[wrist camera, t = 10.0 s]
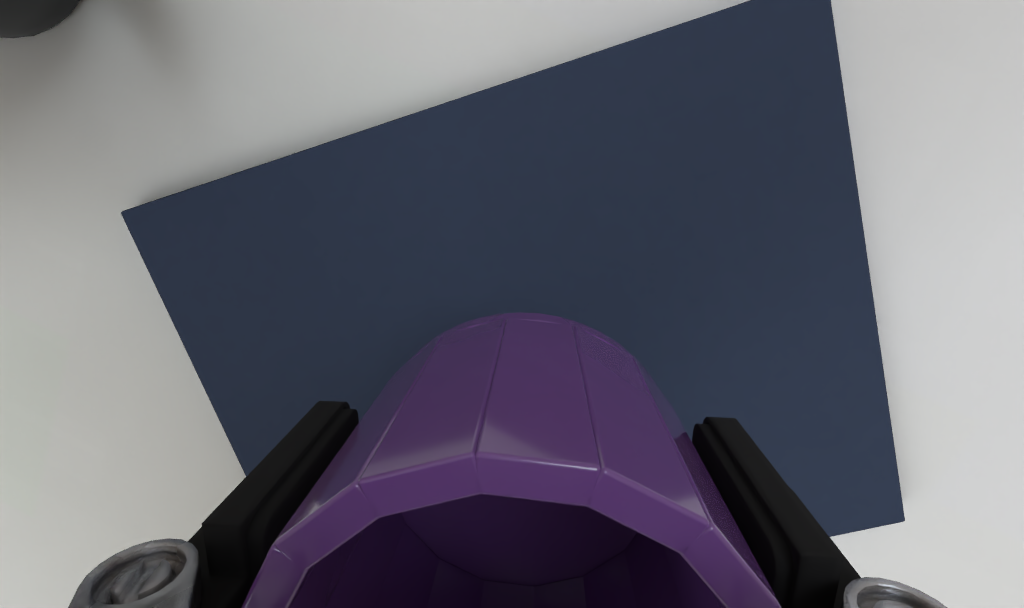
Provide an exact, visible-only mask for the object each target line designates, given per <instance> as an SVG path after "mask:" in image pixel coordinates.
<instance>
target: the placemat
mask: <svg viewBox="0 0 1024 608" xmlns="http://www.w3.org/2000/svg"><path fill="white" fill-rule="evenodd" d="M121 214H122V216H123V218H124V221H125V223H126V225H127V227H128V229H129V231H130V233H131V235H132V237H133V239H134V242H135V244H136V246H137V248H138V250H139V252H140V254H141V256H142V258H143V260H144V263H145V265H146V267H147V269H148V271H149V273H150V275H151V277H152V279H153V282H154V284H155V286H156V288H157V290H158V292H159V294H160V296H161V298H162V300H163V303H164V305H165V307H166V309H167V311H168V313H169V315H170V317H171V319H172V321H173V324H174V326H175V328H176V330H177V332H178V334H179V336H180V338H181V340H182V342H183V345H184V347H185V349H186V351H187V353H188V355H189V357H190V359H191V361H192V364H193V366H194V368H195V370H196V372H197V374H198V376H199V378H200V380H201V382H202V385H203V387H204V389H205V391H206V393H207V395H208V397H209V399H210V401H211V403H212V406H213V408H214V410H215V412H216V414H217V416H218V418H219V420H220V422H221V424H222V427H223V429H224V431H225V433H226V435H227V437H228V439H229V441H230V443H231V445H232V448H233V450H234V452H235V454H236V456H237V458H238V460H239V462H240V464H241V467H242V469H243V471H244V473H245V475H246V477H247V476H248V475H249V473H250V472H251V471H252V470H253V469H254V468H255V467H256V466H257V465H258V464H259V463H260V462H261V461H262V460H263V459H264V458H265V457H266V456H267V455H268V454H269V452H270V451H271V450H272V449H273V448H274V447H275V446H276V445H277V444H278V443H279V442H280V441H281V440H282V439H283V438H284V437H285V436H286V435H287V434H288V433H289V431H290V430H291V429H292V428H293V427H294V426H295V425H296V424H297V423H298V422H299V421H300V420H301V419H302V418H303V417H304V416H305V415H306V414H307V413H308V412H309V410H310V409H311V408H312V407H313V406H314V405H315V404H316V403H317V402H319V401H341V402H348V404H349V406H350V409H356V410H357V412H358V417H359V422H360V420H361V419H362V418H363V416H364V415H365V413H366V412H367V411H368V409H369V408H370V406H371V405H372V404H373V402H374V401H375V399H376V398H377V397H378V395H379V394H380V392H381V391H382V390H383V388H384V387H385V385H386V384H387V383H388V381H389V380H390V378H391V377H392V376H393V375H394V374H395V372H397V371H398V370H399V369H400V368H402V367H403V365H404V364H405V363H406V362H407V361H408V359H409V358H410V357H411V356H413V355H414V354H415V353H416V352H417V351H418V350H419V349H420V348H421V347H422V346H423V345H425V344H426V343H428V342H429V341H431V340H432V339H434V338H435V337H437V336H438V335H439V334H441V333H443V332H445V331H447V330H449V329H451V328H453V327H455V326H457V325H460V324H463V323H465V322H468V321H471V320H474V319H477V318H481V317H486V316H491V315H496V314H505V313H517V312H521V313H541V314H546V315H552V316H558V317H562V318H566V319H569V320H572V321H575V322H579V323H582V324H584V325H586V326H588V327H591V328H593V329H595V330H597V331H599V332H601V333H603V334H604V335H606V336H608V337H609V338H611V339H612V340H614V341H616V342H617V343H619V344H620V345H621V346H622V347H624V348H625V349H626V350H627V351H628V352H630V353H631V354H632V355H633V356H634V357H635V358H636V359H637V360H638V361H639V362H640V363H641V364H642V365H643V366H644V368H645V369H646V370H647V371H648V372H649V374H650V375H651V377H652V378H653V379H654V381H655V382H656V384H657V385H658V387H659V389H660V390H661V392H662V393H663V395H664V396H665V397H666V398H667V400H668V401H669V402H670V403H671V405H672V407H673V409H674V410H675V412H676V414H677V416H678V418H679V420H680V421H681V423H682V425H683V427H684V429H685V431H686V432H687V434H688V436H689V438H690V440H691V442H692V436H693V429H694V426H695V424H702V423H703V421H704V419H705V417H723V418H736V419H737V420H738V422H739V423H740V424H741V425H742V427H743V428H744V429H745V431H746V432H747V433H748V434H749V436H750V437H751V438H752V440H753V441H754V442H755V444H756V445H757V446H758V447H759V449H760V450H761V451H762V453H763V454H764V455H765V456H766V458H767V459H768V460H769V462H770V463H771V464H772V466H773V467H774V468H775V469H776V471H777V472H778V473H779V475H780V476H781V477H782V478H783V480H784V481H785V482H786V484H787V485H788V486H789V487H790V488H791V489H792V490H793V491H794V492H795V493H796V495H797V496H798V497H799V499H800V500H801V501H802V502H803V504H804V505H805V506H806V508H807V509H808V510H809V511H810V513H811V514H812V515H813V517H814V518H815V519H816V520H817V522H818V523H819V524H820V526H821V527H822V528H823V530H824V531H825V532H826V533H827V535H828V536H829V537H831V536H836V535H841V534H845V533H850V532H855V531H860V530H865V529H870V528H874V527H879V526H884V525H889V524H894V523H899V522H903V521H905V518H904V511H903V504H902V497H901V490H900V483H899V476H898V469H897V462H896V455H895V448H894V441H893V434H892V427H891V420H890V413H889V406H888V399H887V392H886V385H885V378H884V371H883V364H882V357H881V350H880V343H879V336H878V329H877V322H876V315H875V308H874V301H873V294H872V287H871V280H870V273H869V266H868V259H867V252H866V245H865V238H864V231H863V224H862V217H861V210H860V203H859V196H858V189H857V182H856V175H855V168H854V161H853V154H852V147H851V140H850V133H849V126H848V119H847V112H846V105H845V98H844V91H843V84H842V77H841V70H840V63H839V56H838V49H837V42H836V35H835V28H834V21H833V14H832V7H831V0H750V1H747V2H744V3H741V4H738V5H735V6H732V7H730V8H727V9H724V10H721V11H718V12H715V13H712V14H709V15H706V16H703V17H700V18H697V19H694V20H691V21H688V22H685V23H682V24H679V25H676V26H673V27H670V28H667V29H664V30H661V31H658V32H655V33H652V34H649V35H646V36H643V37H640V38H637V39H634V40H631V41H628V42H625V43H622V44H619V45H616V46H613V47H610V48H607V49H604V50H601V51H598V52H595V53H592V54H589V55H586V56H583V57H581V58H578V59H575V60H572V61H569V62H566V63H563V64H560V65H557V66H554V67H551V68H548V69H545V70H542V71H539V72H536V73H533V74H530V75H527V76H524V77H521V78H518V79H515V80H512V81H509V82H506V83H503V84H500V85H497V86H494V87H491V88H488V89H485V90H482V91H479V92H476V93H473V94H470V95H467V96H464V97H461V98H458V99H455V100H452V101H449V102H446V103H443V104H440V105H437V106H435V107H432V108H429V109H426V110H423V111H420V112H417V113H414V114H411V115H408V116H405V117H402V118H399V119H396V120H393V121H390V122H387V123H384V124H381V125H378V126H375V127H372V128H369V129H366V130H363V131H360V132H357V133H354V134H351V135H348V136H345V137H342V138H339V139H336V140H333V141H330V142H327V143H324V144H321V145H318V146H315V147H312V148H309V149H306V150H303V151H300V152H297V153H294V154H291V155H289V156H286V157H283V158H280V159H277V160H274V161H271V162H268V163H265V164H262V165H259V166H256V167H253V168H250V169H247V170H244V171H241V172H238V173H235V174H232V175H229V176H226V177H223V178H220V179H217V180H214V181H211V182H208V183H205V184H202V185H199V186H196V187H193V188H190V189H187V190H184V191H181V192H178V193H175V194H172V195H169V196H166V197H163V198H160V199H157V200H154V201H151V202H148V203H145V204H142V205H140V206H137V207H134V208H131V209H128V210H125V211H122V212H121Z"/></svg>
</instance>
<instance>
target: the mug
mask: <svg viewBox="0 0 1024 608" xmlns="http://www.w3.org/2000/svg"><path fill="white" fill-rule="evenodd" d="M79 1H80V0H0V38H18V37H26V36H34V35H36V34H39V33H41V32H43V31H46V30H48V29H51V28H53V27H54V26H56V25H57V24H59V23H60V22H61V21H62V20H63V19H65V18H66V17H67V16H68V15H69V14H70V13H71V12H72V11H73V9H74V8H75V6H76V5H77V4H78V2H79Z"/></svg>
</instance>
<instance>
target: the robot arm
mask: <svg viewBox="0 0 1024 608" xmlns="http://www.w3.org/2000/svg"><path fill="white" fill-rule="evenodd" d="M358 423H359V417H358V412H357V410H356V409H350V406H349V404H348V402H341V401H319V402H317V403H316V404H315V405H314V406H313V407H312V408H311V409H310V410H309V412H308V413H307V414H306V415H305V416H304V417H303V418H302V419H301V420H300V421H299V422H298V423H297V424H296V425H295V426H294V427H293V428H292V429H291V430H290V431H289V433H288V434H287V435H286V436H285V437H284V438H283V439H282V440H281V441H280V442H279V443H278V444H277V445H276V446H275V447H274V448H273V449H272V450H271V451H270V452H269V454H268V455H267V456H266V457H265V458H264V459H263V460H262V461H261V462H260V463H259V464H258V465H257V466H256V467H255V468H254V469H253V470H252V471H251V472H250V473H249V475H248V476H247V477H246V478H245V479H244V480H243V481H242V482H241V483H240V484H239V485H238V486H237V487H236V488H235V489H234V490H233V491H232V492H231V493H230V494H229V496H228V497H227V498H226V499H225V500H224V501H223V502H222V503H221V504H220V505H219V506H218V507H217V508H216V509H215V510H214V511H213V512H212V513H211V514H210V515H209V517H208V518H207V519H206V520H205V521H204V522H203V523H202V527H201V528H200V529H199V530H198V531H197V532H196V534H195V535H194V536H193V537H192V538H191V539H190V540H189V541H188V542H187V541H184V540H182V539H161V540H153V541H149V542H145V543H142V544H139V545H135V546H132V547H130V548H128V549H126V550H123V551H121V552H119V553H117V554H115V555H113V556H112V557H110V558H108V559H107V560H105V561H104V562H102V563H100V564H99V565H98V566H97V567H96V568H94V569H93V570H92V571H91V572H90V573H89V574H88V575H87V576H86V577H85V578H84V580H83V581H82V583H81V584H80V585H79V587H78V589H77V591H76V593H75V595H74V597H73V599H72V601H71V603H70V605H69V607H68V608H241V606H242V604H243V602H244V600H245V598H246V596H247V594H248V592H249V590H250V588H251V586H252V584H253V582H254V580H255V577H256V575H257V573H258V571H259V569H260V567H261V565H262V563H263V561H264V559H265V557H266V555H267V553H268V551H269V549H270V547H271V545H272V544H273V542H274V541H275V540H276V538H277V537H278V535H279V534H280V532H281V531H282V530H283V528H284V527H285V525H286V524H287V523H288V521H289V520H290V518H291V517H292V516H293V514H294V513H295V511H296V510H297V509H298V507H299V506H300V504H301V503H302V502H303V500H304V499H305V497H306V496H307V495H308V493H309V492H310V490H311V489H312V488H313V486H314V485H315V483H316V482H317V481H318V479H319V478H320V476H321V475H322V474H323V472H324V471H325V469H326V468H327V467H328V465H329V464H330V462H331V461H332V460H333V458H334V457H335V455H336V454H337V453H338V451H339V450H340V448H341V447H342V446H343V444H344V443H345V441H346V440H347V439H348V437H349V436H350V434H351V433H352V432H353V430H354V429H355V427H356V426H357V425H358ZM692 443H693V445H694V447H695V449H696V451H697V453H698V454H699V456H700V458H701V460H702V462H703V464H704V465H705V467H706V469H707V471H708V473H709V475H710V476H711V478H712V480H713V482H714V484H715V486H716V487H717V489H718V491H719V493H720V495H721V497H722V498H723V500H724V502H725V504H726V506H727V508H728V509H729V511H730V513H731V515H732V517H733V519H734V520H735V522H736V524H737V526H738V528H739V530H740V531H741V533H742V535H743V537H744V539H745V541H746V542H747V544H748V546H749V548H750V550H751V552H752V553H753V555H754V557H755V559H756V561H757V563H758V565H759V566H760V568H761V570H762V572H763V574H764V576H765V577H766V579H767V581H768V583H769V585H770V587H771V588H772V590H773V592H774V594H775V596H776V598H777V599H778V601H779V603H780V605H781V607H782V608H947V607H946V606H944V605H943V604H942V603H940V602H939V601H938V600H936V599H934V598H932V597H930V596H929V595H927V594H925V593H923V592H921V591H920V590H917V589H915V588H912V587H910V586H907V585H905V584H902V583H900V582H896V581H892V580H887V579H883V578H870V577H864V578H861V577H860V576H859V575H858V573H857V572H856V571H855V569H854V568H853V567H852V566H851V564H850V563H849V562H848V560H847V559H846V558H845V557H844V555H843V554H842V553H841V551H840V550H839V549H838V548H837V546H836V545H835V544H834V542H833V541H832V540H831V539H830V537H829V536H828V535H827V533H826V532H825V531H824V530H823V528H822V527H821V526H820V524H819V523H818V522H817V520H816V519H815V518H814V517H813V515H812V514H811V513H810V511H809V510H808V509H807V508H806V506H805V505H804V504H803V502H802V501H801V500H800V499H799V497H798V496H797V495H796V493H795V492H794V491H793V490H792V489H791V488H790V487H789V486H788V485H787V484H786V482H785V481H784V480H783V478H782V477H781V476H780V475H779V473H778V472H777V471H776V469H775V468H774V467H773V466H772V464H771V463H770V462H769V460H768V459H767V458H766V456H765V455H764V454H763V453H762V451H761V450H760V449H759V447H758V446H757V445H756V444H755V442H754V441H753V440H752V438H751V437H750V436H749V434H748V433H747V432H746V431H745V429H744V428H743V427H742V425H741V424H740V423H739V422H738V420H737V419H736V418H723V417H705V419H704V421H703V423H702V424H695V426H694V429H693V436H692Z"/></svg>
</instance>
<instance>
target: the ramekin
mask: <svg viewBox="0 0 1024 608" xmlns="http://www.w3.org/2000/svg"><path fill="white" fill-rule="evenodd" d="M241 608H782V607H781V605H780V603H779V601H778V599H777V598H776V596H775V594H774V592H773V590H772V588H771V587H770V585H769V583H768V581H767V579H766V577H765V576H764V574H763V572H762V570H761V568H760V566H759V565H758V563H757V561H756V559H755V557H754V555H753V553H752V552H751V550H750V548H749V546H748V544H747V542H746V541H745V539H744V537H743V535H742V533H741V531H740V530H739V528H738V526H737V524H736V522H735V520H734V519H733V517H732V515H731V513H730V511H729V509H728V508H727V506H726V504H725V502H724V500H723V498H722V497H721V495H720V493H719V491H718V489H717V487H716V486H715V484H714V482H713V480H712V478H711V476H710V475H709V473H708V471H707V469H706V467H705V465H704V464H703V462H702V460H701V458H700V456H699V454H698V453H697V451H696V449H695V447H694V445H693V443H692V442H691V440H690V438H689V436H688V434H687V432H686V431H685V429H684V427H683V425H682V423H681V421H680V420H679V418H678V416H677V414H676V412H675V410H674V409H673V407H672V405H671V403H670V402H669V401H668V400H667V398H666V397H665V396H664V395H663V393H662V392H661V390H660V389H659V387H658V385H657V384H656V382H655V381H654V379H653V378H652V377H651V375H650V374H649V372H648V371H647V370H646V369H645V368H644V366H643V365H642V364H641V363H640V362H639V361H638V360H637V359H636V358H635V357H634V356H633V355H632V354H631V353H630V352H628V351H627V350H626V349H625V348H624V347H622V346H621V345H620V344H619V343H617V342H616V341H614V340H612V339H611V338H609V337H608V336H606V335H604V334H603V333H601V332H599V331H597V330H595V329H593V328H591V327H588V326H586V325H584V324H582V323H579V322H575V321H572V320H569V319H566V318H562V317H558V316H552V315H546V314H541V313H521V312H517V313H505V314H496V315H491V316H486V317H481V318H477V319H474V320H471V321H468V322H465V323H463V324H460V325H457V326H455V327H453V328H451V329H449V330H447V331H445V332H443V333H441V334H439V335H438V336H437V337H435V338H434V339H432V340H431V341H429V342H428V343H426V344H425V345H423V346H422V347H421V348H420V349H419V350H418V351H417V352H416V353H415V354H414V355H413V356H411V357H410V358H409V359H408V361H407V362H406V363H405V364H404V365H403V367H402V368H400V369H399V370H398V371H397V372H395V374H394V375H393V376H392V377H391V378H390V380H389V381H388V383H387V384H386V385H385V387H384V388H383V390H382V391H381V392H380V394H379V395H378V397H377V398H376V399H375V401H374V402H373V404H372V405H371V406H370V408H369V409H368V411H367V412H366V413H365V415H364V416H363V418H362V419H361V420H360V422H359V423H358V425H357V426H356V427H355V429H354V430H353V432H352V433H351V434H350V436H349V437H348V439H347V440H346V441H345V443H344V444H343V446H342V447H341V448H340V450H339V451H338V453H337V454H336V455H335V457H334V458H333V460H332V461H331V462H330V464H329V465H328V467H327V468H326V469H325V471H324V472H323V474H322V475H321V476H320V478H319V479H318V481H317V482H316V483H315V485H314V486H313V488H312V489H311V490H310V492H309V493H308V495H307V496H306V497H305V499H304V500H303V502H302V503H301V504H300V506H299V507H298V509H297V510H296V511H295V513H294V514H293V516H292V517H291V518H290V520H289V521H288V523H287V524H286V525H285V527H284V528H283V530H282V531H281V532H280V534H279V535H278V537H277V538H276V540H275V541H274V542H273V544H272V545H271V547H270V549H269V551H268V553H267V555H266V557H265V559H264V561H263V563H262V565H261V567H260V569H259V571H258V573H257V575H256V577H255V580H254V582H253V584H252V586H251V588H250V590H249V592H248V594H247V596H246V598H245V600H244V602H243V604H242V606H241Z"/></svg>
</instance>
